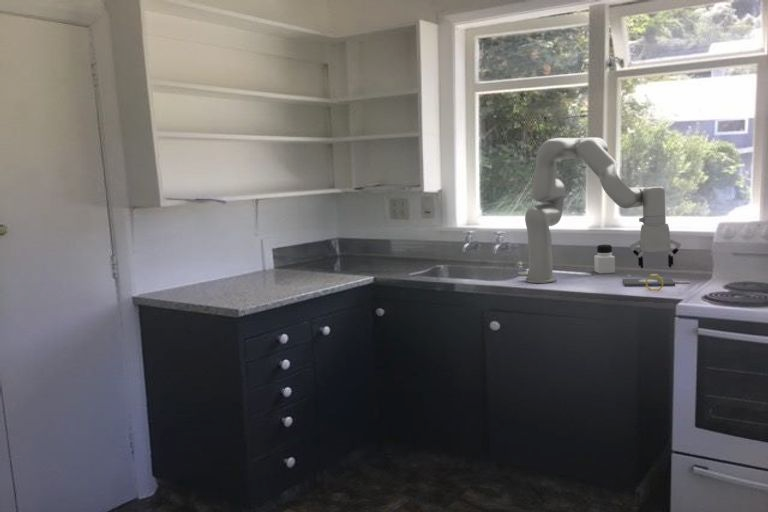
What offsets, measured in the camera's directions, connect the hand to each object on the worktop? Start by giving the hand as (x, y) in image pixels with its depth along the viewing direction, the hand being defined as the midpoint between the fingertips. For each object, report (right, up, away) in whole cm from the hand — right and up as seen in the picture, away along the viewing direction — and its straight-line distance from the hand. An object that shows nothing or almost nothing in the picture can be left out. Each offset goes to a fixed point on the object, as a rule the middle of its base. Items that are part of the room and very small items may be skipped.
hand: (655, 267), depth 250 cm
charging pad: (+6, -6, +14) cm, 17 cm away
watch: (0, -9, +1) cm, 9 cm away
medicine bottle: (-3, -3, +48) cm, 48 cm away
